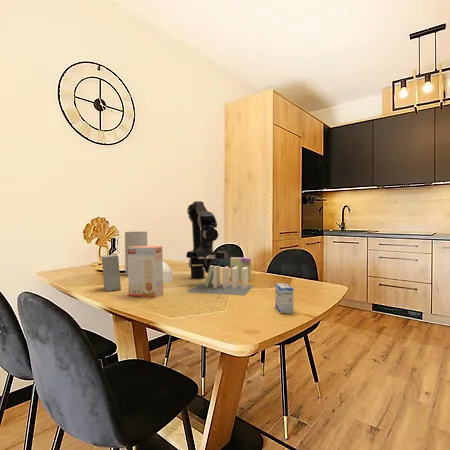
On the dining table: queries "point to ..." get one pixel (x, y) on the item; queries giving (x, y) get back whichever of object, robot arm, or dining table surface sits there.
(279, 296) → the medicine box
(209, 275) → the domino
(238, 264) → the box
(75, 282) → the dining table surface
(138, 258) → the cracker box
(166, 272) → the teardrop
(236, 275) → the domino
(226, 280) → the domino
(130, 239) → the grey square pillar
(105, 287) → the skincare box
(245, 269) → the domino
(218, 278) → the domino
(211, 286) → the mat
